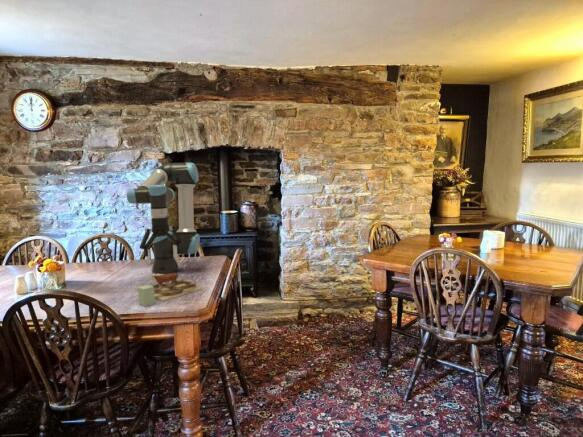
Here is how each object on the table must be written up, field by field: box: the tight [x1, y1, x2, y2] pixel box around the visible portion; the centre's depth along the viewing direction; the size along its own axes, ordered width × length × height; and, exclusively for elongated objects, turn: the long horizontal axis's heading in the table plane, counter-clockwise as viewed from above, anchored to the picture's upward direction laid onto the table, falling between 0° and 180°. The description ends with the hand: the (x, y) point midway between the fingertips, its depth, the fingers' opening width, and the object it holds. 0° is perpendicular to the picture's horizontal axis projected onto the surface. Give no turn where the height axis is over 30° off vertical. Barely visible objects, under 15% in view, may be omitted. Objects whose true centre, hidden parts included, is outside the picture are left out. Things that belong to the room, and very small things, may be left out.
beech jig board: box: [151, 279, 203, 302], centre depth 197 cm, size 20×22×2 cm
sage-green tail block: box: [137, 284, 156, 307], centre depth 179 cm, size 5×5×8 cm
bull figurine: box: [149, 272, 179, 290], centre depth 194 cm, size 4×13×8 cm, turn 112°
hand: (162, 260), depth 191 cm, fingers open, 13 cm apart
